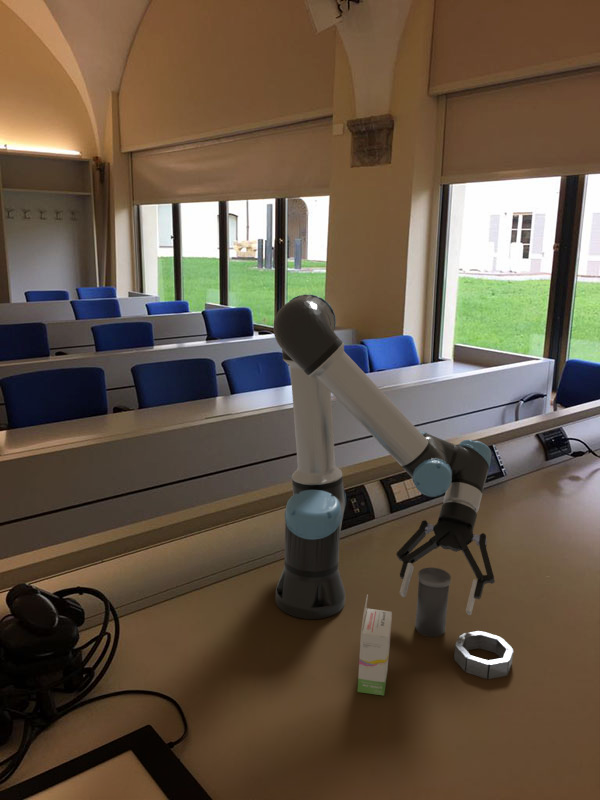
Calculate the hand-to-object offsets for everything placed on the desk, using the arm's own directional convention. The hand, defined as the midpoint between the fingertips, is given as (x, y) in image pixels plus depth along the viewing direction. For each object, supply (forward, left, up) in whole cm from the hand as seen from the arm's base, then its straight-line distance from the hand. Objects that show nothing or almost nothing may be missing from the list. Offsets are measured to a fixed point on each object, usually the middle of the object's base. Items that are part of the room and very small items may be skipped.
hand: (434, 603), depth 136 cm
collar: (+11, -5, -6) cm, 14 cm away
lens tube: (-1, +1, -6) cm, 6 cm away
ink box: (-5, -20, -6) cm, 22 cm away
